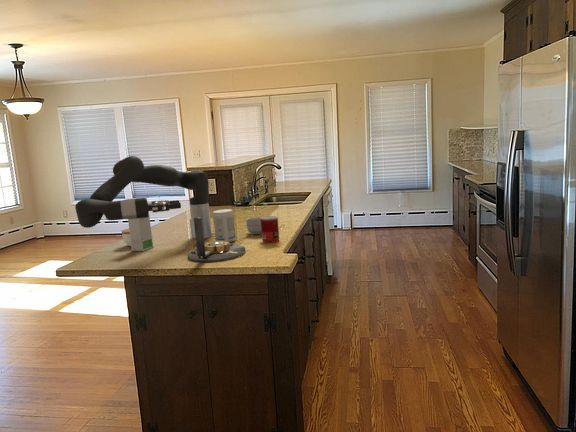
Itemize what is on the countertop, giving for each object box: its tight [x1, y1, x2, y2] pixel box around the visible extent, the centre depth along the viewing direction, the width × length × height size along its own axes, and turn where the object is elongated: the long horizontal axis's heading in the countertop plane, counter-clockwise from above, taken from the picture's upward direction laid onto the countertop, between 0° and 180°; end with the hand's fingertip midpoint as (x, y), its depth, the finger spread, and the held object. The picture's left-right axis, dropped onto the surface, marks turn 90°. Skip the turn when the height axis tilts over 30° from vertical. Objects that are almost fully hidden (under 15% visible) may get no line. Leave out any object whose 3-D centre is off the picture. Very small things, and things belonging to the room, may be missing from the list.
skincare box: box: [127, 216, 154, 252], centre depth 213 cm, size 8×7×16 cm
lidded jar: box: [121, 228, 131, 247], centre depth 224 cm, size 11×11×9 cm
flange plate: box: [187, 241, 246, 263], centre depth 194 cm, size 24×24×5 cm
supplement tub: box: [212, 208, 237, 243], centre depth 219 cm, size 10×10×15 cm
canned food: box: [261, 215, 280, 243], centre depth 213 cm, size 8×8×11 cm
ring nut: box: [194, 217, 231, 259], centre depth 188 cm, size 20×11×16 cm, turn 162°
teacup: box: [245, 216, 263, 235], centre depth 232 cm, size 14×11×8 cm
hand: (180, 204), depth 177 cm, fingers open, 7 cm apart
